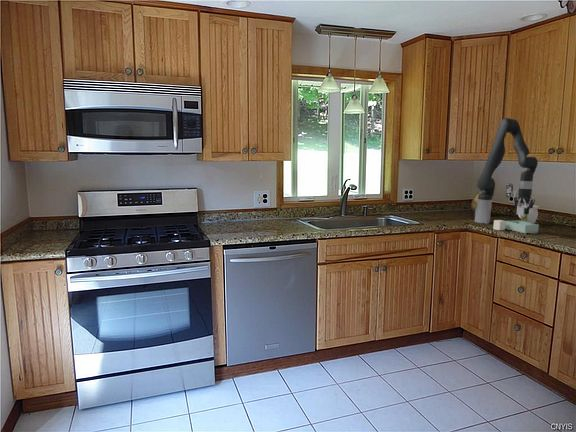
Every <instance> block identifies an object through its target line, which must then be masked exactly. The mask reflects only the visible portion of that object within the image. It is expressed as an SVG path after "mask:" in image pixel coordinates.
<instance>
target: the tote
mask: <svg viewBox="0 0 576 432" xmlns="http://www.w3.org/2000/svg"><path fill="white" fill-rule="evenodd" d="M505 221H506V226H505V229H507V230H506V231H510V230H512V231H511V232H514V231H516V232H515V233H519V232H520V234H523V233H524V235H526V233H530V234H538V233H539V226H540V224H539V223H534V224H533V223H528V222H523V221H521V220H505Z"/></svg>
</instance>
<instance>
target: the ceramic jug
mask: <svg viewBox="0 0 576 432" xmlns="http://www.w3.org/2000/svg"><path fill="white" fill-rule="evenodd" d="M481 191H482V190H480V189H479V191H478V193H476V195H475V196H474V197H473V199H472V201H471V204H470V209H471V211H472V213H473V216H475V212H476V209H477V202H478V195H479V194H480V193H481ZM492 207H493V204H492V203H491V209H492Z"/></svg>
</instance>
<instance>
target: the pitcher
mask: <svg viewBox="0 0 576 432" xmlns="http://www.w3.org/2000/svg"><path fill="white" fill-rule="evenodd" d="M522 206H524V207H525V205H524V204H523V205H522ZM540 207H541V206H540V205H535V204H534V205H533V208H530V209H529V215H519V214H517V215H518V217H519V219H520V221H523V222H528V223H533V224H536V221H537V220H538V217H539V213H538V208H540Z"/></svg>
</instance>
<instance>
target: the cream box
mask: <svg viewBox="0 0 576 432" xmlns="http://www.w3.org/2000/svg"><path fill="white" fill-rule="evenodd" d="M506 221H507V220H502V219H495V220H493V225H492V226H493V227H492V229H493V230H495V231H506V230H505V226H506Z"/></svg>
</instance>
